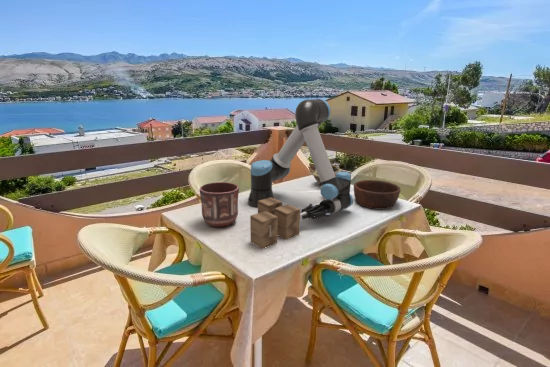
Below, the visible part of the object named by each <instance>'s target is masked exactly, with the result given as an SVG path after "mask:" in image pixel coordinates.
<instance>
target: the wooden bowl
mask: <svg viewBox="0 0 550 367" xmlns="http://www.w3.org/2000/svg"><path fill="white" fill-rule="evenodd" d="M400 192H401V188H400V186H398V185H397V184H395V183H392V182H389V181H386V180H385V181H383V180H377V179H364V180H358V181H356V182H354V184H353V194H354V195H353V196H354V198H355V200H356V203H358V204H359V205H360V206H362V207H365V208H368V209H372V210H387V209H392V207H394V206H395V205H396V204H397V202H398V199H399V197H400Z"/></svg>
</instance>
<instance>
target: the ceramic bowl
mask: <svg viewBox="0 0 550 367" xmlns="http://www.w3.org/2000/svg"><path fill="white" fill-rule="evenodd" d="M331 166H332V168H333V171H334V174H335V176H336V174H337V172H343V170H342V169H341V168H339V167H338V166H336V165H333V164H331ZM312 176H313V178H314V180H315V181H316V182H318V184H319V186H320V187H321V186H322V184H321V181H320V179H319V176H318V173H317V171H316V169H314V171H313V173H312Z"/></svg>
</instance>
